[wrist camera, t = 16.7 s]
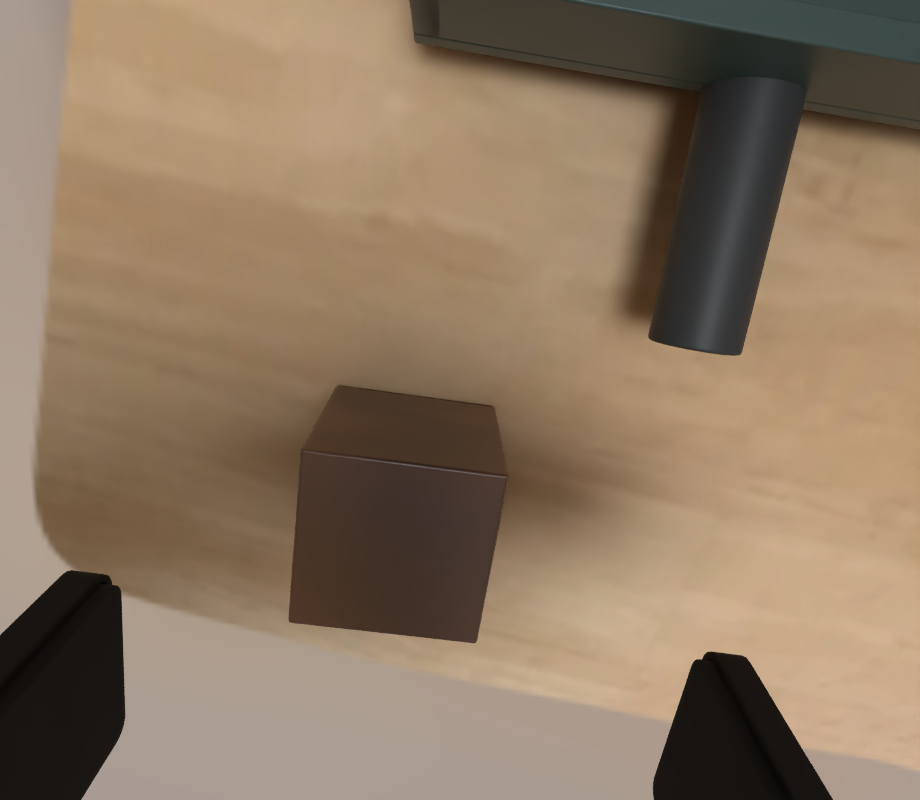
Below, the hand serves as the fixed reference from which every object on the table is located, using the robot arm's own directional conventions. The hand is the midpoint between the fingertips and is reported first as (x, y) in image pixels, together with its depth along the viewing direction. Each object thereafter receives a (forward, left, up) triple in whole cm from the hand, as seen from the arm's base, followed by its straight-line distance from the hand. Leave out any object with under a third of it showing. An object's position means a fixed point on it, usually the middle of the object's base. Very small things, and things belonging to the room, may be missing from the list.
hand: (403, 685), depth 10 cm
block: (0, 0, -8) cm, 8 cm away
